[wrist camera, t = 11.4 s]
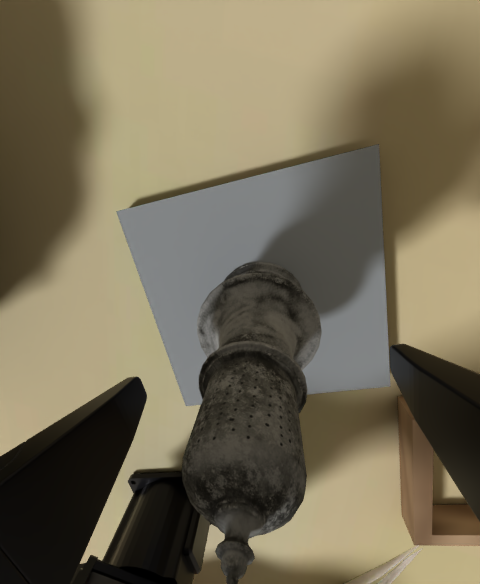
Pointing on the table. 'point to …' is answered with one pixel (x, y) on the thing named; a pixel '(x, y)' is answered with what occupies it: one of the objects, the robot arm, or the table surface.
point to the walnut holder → (428, 492)
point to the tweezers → (386, 569)
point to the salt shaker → (251, 408)
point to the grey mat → (274, 261)
